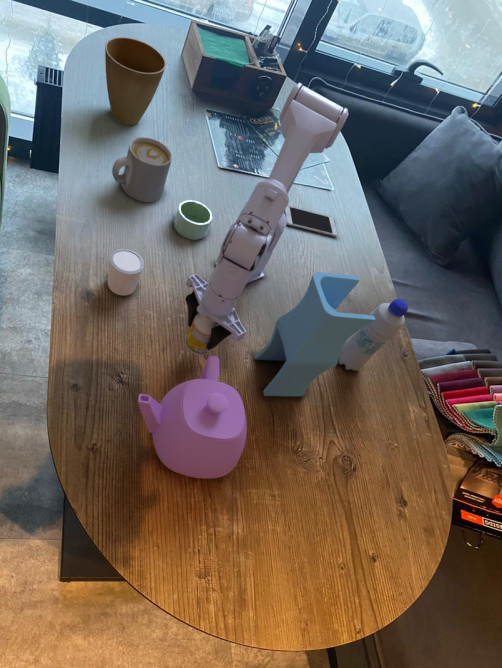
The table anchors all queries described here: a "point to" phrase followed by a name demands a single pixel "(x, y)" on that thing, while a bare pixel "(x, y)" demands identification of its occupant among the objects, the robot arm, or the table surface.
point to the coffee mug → (144, 169)
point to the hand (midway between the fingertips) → (201, 335)
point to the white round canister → (124, 271)
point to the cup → (192, 219)
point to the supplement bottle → (200, 334)
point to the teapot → (198, 425)
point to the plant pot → (131, 77)
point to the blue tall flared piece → (312, 334)
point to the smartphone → (310, 221)
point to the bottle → (373, 334)
